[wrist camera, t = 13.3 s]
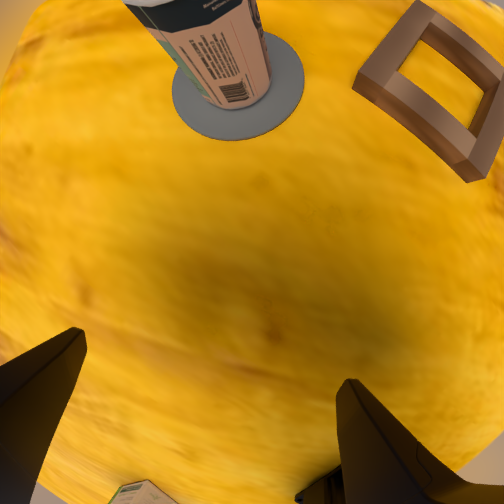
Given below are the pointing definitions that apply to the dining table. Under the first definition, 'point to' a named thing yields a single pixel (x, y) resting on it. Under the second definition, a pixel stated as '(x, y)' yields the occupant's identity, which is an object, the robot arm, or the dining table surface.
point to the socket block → (425, 107)
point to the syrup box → (140, 494)
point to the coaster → (250, 117)
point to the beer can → (212, 45)
